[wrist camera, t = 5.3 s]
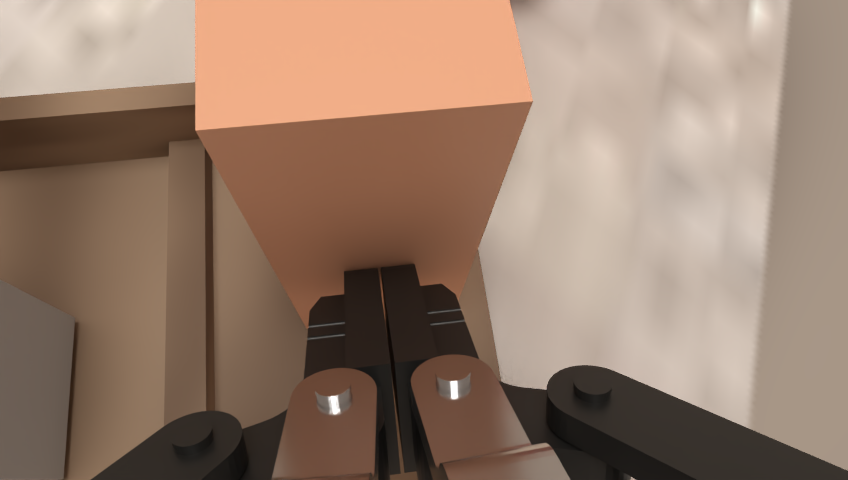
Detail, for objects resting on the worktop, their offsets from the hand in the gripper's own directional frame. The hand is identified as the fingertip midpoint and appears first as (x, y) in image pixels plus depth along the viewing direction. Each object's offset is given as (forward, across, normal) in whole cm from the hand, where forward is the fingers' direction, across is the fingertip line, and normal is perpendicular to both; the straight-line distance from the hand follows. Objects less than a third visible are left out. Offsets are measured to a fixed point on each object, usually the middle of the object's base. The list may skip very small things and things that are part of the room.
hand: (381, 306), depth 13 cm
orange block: (+4, 0, +1) cm, 4 cm away
